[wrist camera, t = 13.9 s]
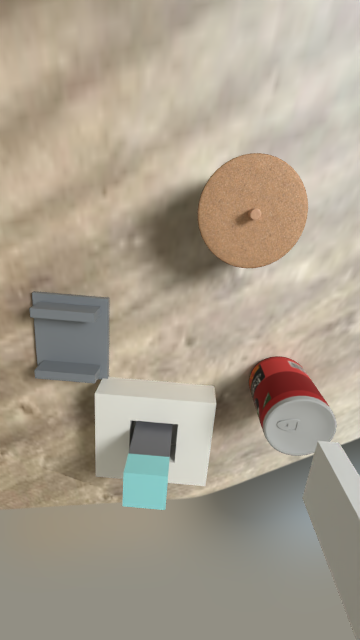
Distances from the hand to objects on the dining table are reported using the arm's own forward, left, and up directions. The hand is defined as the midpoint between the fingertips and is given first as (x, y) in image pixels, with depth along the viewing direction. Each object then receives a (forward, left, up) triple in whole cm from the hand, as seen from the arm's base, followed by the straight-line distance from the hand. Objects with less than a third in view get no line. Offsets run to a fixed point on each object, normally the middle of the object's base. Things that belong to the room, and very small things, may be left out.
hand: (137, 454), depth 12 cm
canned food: (+20, -4, -32) cm, 38 cm away
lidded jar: (+2, +11, -32) cm, 34 cm away
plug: (+10, -20, -31) cm, 38 cm away
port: (+10, -20, -32) cm, 39 cm away
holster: (-7, -15, -32) cm, 36 cm away
